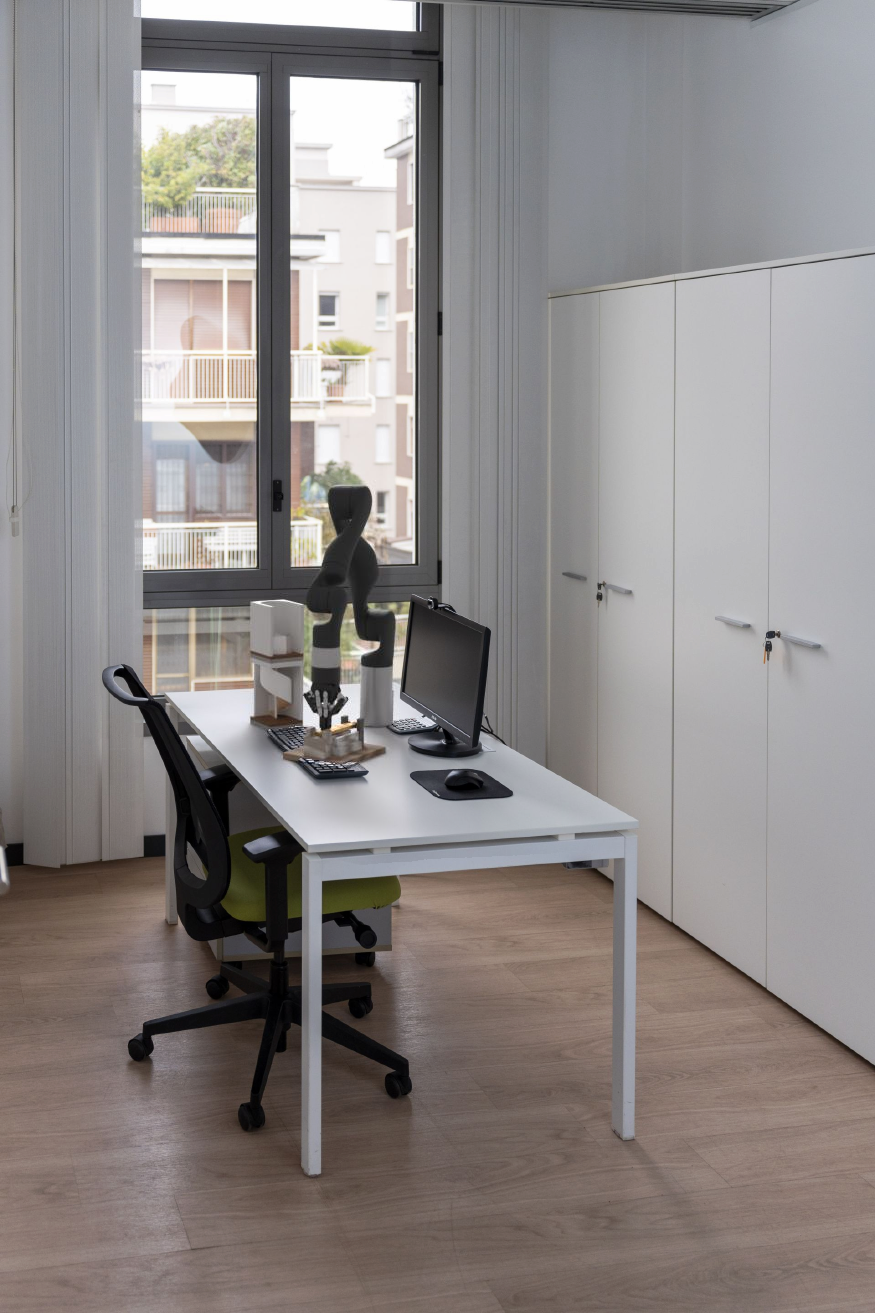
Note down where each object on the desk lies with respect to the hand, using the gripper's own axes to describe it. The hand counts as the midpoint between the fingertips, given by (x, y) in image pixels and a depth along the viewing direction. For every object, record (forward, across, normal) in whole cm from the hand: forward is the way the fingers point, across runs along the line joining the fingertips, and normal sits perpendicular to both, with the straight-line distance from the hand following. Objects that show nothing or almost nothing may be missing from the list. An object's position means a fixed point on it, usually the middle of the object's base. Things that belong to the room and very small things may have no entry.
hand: (325, 730), depth 339 cm
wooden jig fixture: (+8, 0, -5) cm, 9 cm away
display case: (+8, +33, -24) cm, 41 cm away
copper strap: (+1, 0, -5) cm, 6 cm away
